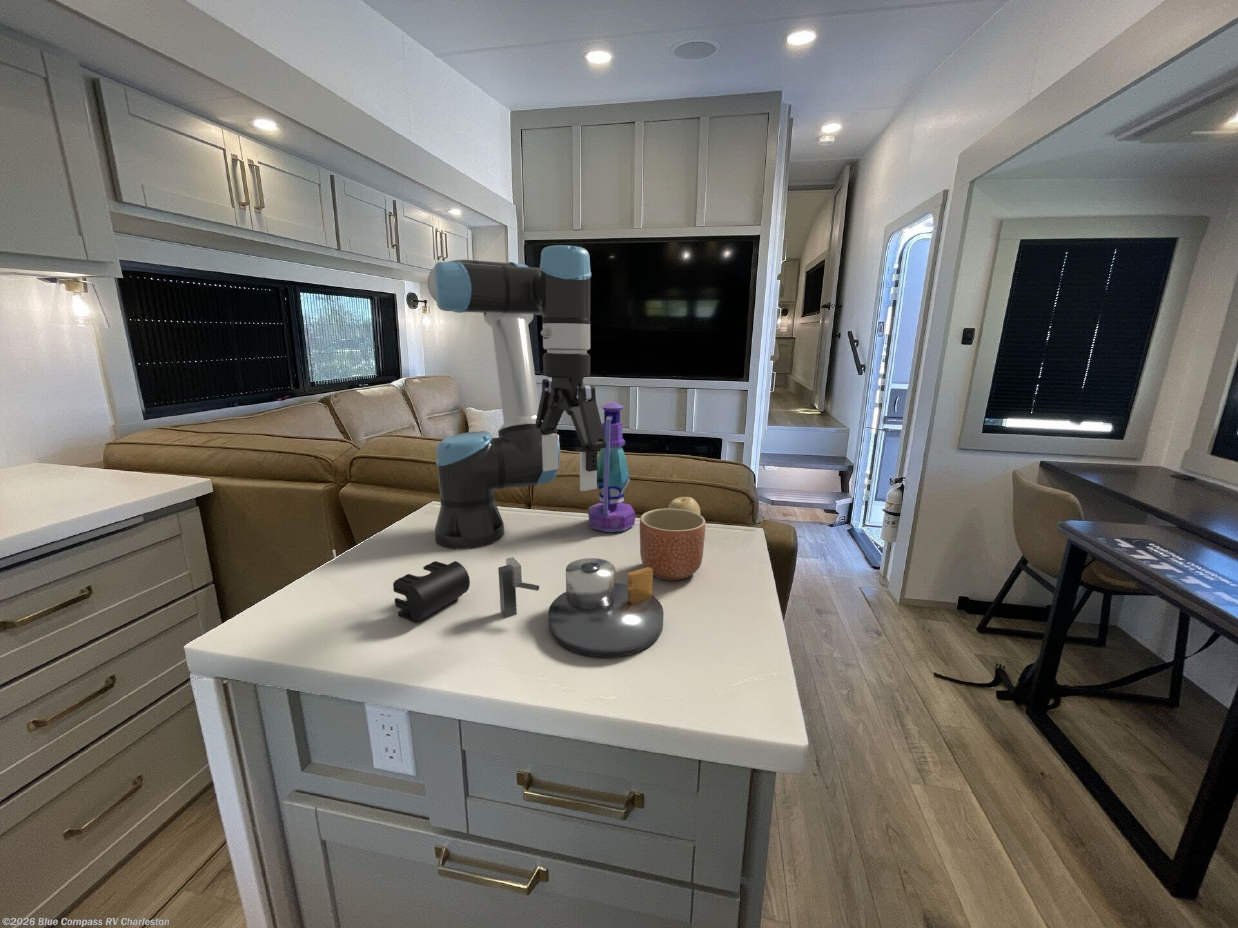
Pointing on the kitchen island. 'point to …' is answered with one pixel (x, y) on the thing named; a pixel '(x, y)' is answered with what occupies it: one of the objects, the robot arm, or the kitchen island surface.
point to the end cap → (430, 589)
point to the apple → (685, 504)
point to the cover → (590, 583)
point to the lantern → (612, 478)
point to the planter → (672, 542)
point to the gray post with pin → (511, 586)
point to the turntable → (610, 620)
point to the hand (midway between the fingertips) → (568, 479)
